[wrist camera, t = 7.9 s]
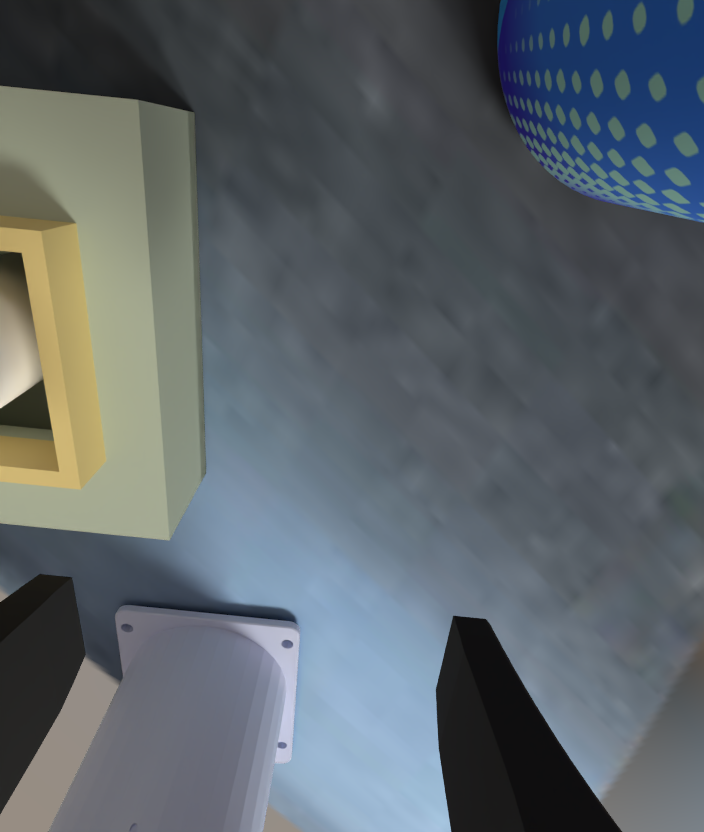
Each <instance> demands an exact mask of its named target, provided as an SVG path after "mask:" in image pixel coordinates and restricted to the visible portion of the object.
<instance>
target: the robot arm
mask: <svg viewBox="0 0 704 832" xmlns="http://www.w3.org/2000/svg"><path fill="white" fill-rule="evenodd" d="M115 622H116V629H117V637H118V644H119V651H120V658H121V665H122V673H123V679H122V681H121V683H120V685H119V687H118V689H117V691H116V694H115V695H114V697H113V699H112V702H111V703H110V705H109V708H108V710H107V712H106V714H105V716H104V718H103V720H102V722H101V724H100V726H99V728H98V730H97V732H96V734H95V736H94V738H93V740H92V742H91V745H90V747H89V749H88V751H87V753H86V755H85V757H84V759H83V761H82V763H81V765H80V767H79V769H78V771H77V773H76V776H75V777H74V780H73V782H72V784H71V786H70V788H69V790H68V792H67V794H66V796H65V798H64V800H63V802H62V804H61V806H60V808H59V811H58V812H57V814H56V817H55V818H54V821H53V823H52V825H51V827H50V829H49V831H48V832H263V828H264V822H265V816H266V810H267V805H268V799H269V793H270V787H271V781H272V775H273V769H274V763H287V762H289V761H290V760H291V756H292V746H293V731H294V716H295V701H296V687H297V672H298V657H299V643H300V627H299V626H298V625H297V624H296V623H294V622H291V621H282V620H272V619H262V618H253V617H243V616H233V615H223V614H213V613H203V612H193V611H183V610H173V609H163V608H153V607H143V606H133V605H123V606H121V607H120V608H119V609H118V611H117V612H116V614H115ZM128 624H129V625H128ZM286 640H290V641H286ZM85 655H86V654H85V648H84V642H83V637H82V631H81V625H80V620H79V614H78V609H77V603H76V597H75V592H74V586H73V581H72V577H63V576H53V575H43V574H39V575H38V576H37V577H35V578H34V579H32V580H31V581H29V582H28V583H26V584H25V585H24V586H22V587H21V588H19V589H18V590H17V591H15V592H14V593H12V594H11V595H10V596H8V597H7V598H5V599H4V600H3V601H1V602H0V814H1V812H2V810H3V809H4V807H5V805H6V804H7V802H8V800H9V798H10V797H11V795H12V793H13V792H14V790H15V788H16V787H17V785H18V783H19V781H20V780H21V778H22V776H23V774H24V773H25V771H26V769H27V768H28V766H29V764H30V763H31V761H32V759H33V758H34V756H35V754H36V752H37V751H38V749H39V747H40V746H41V744H42V742H43V740H44V739H45V737H46V735H47V733H48V732H49V730H50V728H51V727H52V725H53V723H54V721H55V719H56V718H57V716H58V714H59V713H60V711H61V709H62V707H63V704H64V702H65V700H66V698H67V696H68V694H69V691H70V689H71V687H72V685H73V683H74V680H75V678H76V676H77V673H78V671H79V669H80V666H81V664H82V662H83V659H84V657H85ZM436 701H437V724H438V741H439V752H440V759H441V766H442V773H443V779H444V786H445V793H446V799H447V806H448V812H449V819H450V826H451V832H622V831H621V830H620V828H619V827H618V826H617V824H616V823H615V822H614V820H613V819H612V818H611V816H610V815H609V814H608V812H607V811H606V809H605V808H604V807H603V805H602V804H601V802H600V801H599V800H598V798H597V797H596V796H595V794H594V793H593V791H592V790H591V788H590V787H589V786H588V784H587V783H586V781H585V780H584V778H583V777H582V775H581V774H580V773H579V771H578V770H577V768H576V767H575V765H574V764H573V762H572V761H571V759H570V758H569V756H568V755H567V753H566V752H565V750H564V749H563V747H562V746H561V744H560V743H559V741H558V740H557V738H556V737H555V735H554V733H553V732H552V730H551V729H550V727H549V725H548V724H547V722H546V721H545V719H544V718H543V716H542V714H541V713H540V711H539V710H538V708H537V706H536V705H535V703H534V701H533V700H532V698H531V696H530V695H529V693H528V691H527V690H526V688H525V686H524V685H523V683H522V681H521V679H520V678H519V676H518V674H517V673H516V671H515V669H514V667H513V666H512V664H511V662H510V660H509V658H508V657H507V655H506V653H505V651H504V649H503V648H502V646H501V644H500V642H499V640H498V638H497V636H496V635H495V633H494V631H493V629H492V627H491V625H490V624H489V622H488V621H487V620H486V619H480V618H470V617H460V616H453V620H452V624H451V628H450V632H449V636H448V641H447V645H446V649H445V653H444V658H443V662H442V666H441V670H440V675H439V679H438V683H437V687H436Z"/></svg>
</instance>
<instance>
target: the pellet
mask: <svg viewBox="0 0 704 832" xmlns="http://www.w3.org/2000/svg"><path fill="white" fill-rule="evenodd" d="M41 380H43V373H42V367H41V362H40V356H39V350H38V344H37V338H36V332H35V327H34V321H33V315H32V309H31V303H30V298H29V292H28V286H27V280H26V274H25V268H24V263H23V257H22V253H18V252H10V253H7V254H3V255H0V408H2V407H3V406H5V405H6V404H8V403H9V402H10V401H12V400H13V399H15V398H16V397H18V396H19V395H21V394H22V393H24V392H25V391H27V390H28V389H30V388H31V387H33V386H34V385H36V384H37V383H38V382H40V381H41Z"/></svg>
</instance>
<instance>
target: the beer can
mask: <svg viewBox="0 0 704 832" xmlns="http://www.w3.org/2000/svg"><path fill="white" fill-rule="evenodd" d="M497 49H498V65H499V72H500V79H501V85H502V89H503V93H504V97H505V101H506V104H507V107H508V110H509V113H510V116H511V118H512V121H513V123H514V125H515V127H516V129H517V131H518V133H519V135H520V137H521V138H522V140H523V142H524V143H525V145H526V147H527V148H528V149H529V151H530V152H531V153H532V155H533V156H534V157H535V158H536V160H537V161H538V162H539V163H540V164H541V165H542V166H543V167H544V168H545V169H546V170H547V171H548V172H549V173H550V174H551V175H553V176H554V177H555V178H556V179H558V180H559V181H560V182H562V183H563V184H565V185H566V186H568V187H570V188H571V189H573V190H575V191H577V192H579V193H581V194H583V195H586V196H588V197H591V198H594V199H597V200H600V201H605V202H609V203H613V204H618V205H623V206H627V207H632V208H637V209H642V210H647V211H651V212H656V213H661V214H666V215H670V216H675V217H680V218H685V219H689V220H694V221H699V222H704V0H501V2H500V9H499V19H498V40H497Z"/></svg>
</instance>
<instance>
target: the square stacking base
mask: <svg viewBox="0 0 704 832" xmlns="http://www.w3.org/2000/svg"><path fill="white" fill-rule="evenodd" d="M10 252H18V253H22V257H23V263H24V268H25V274H26V280H27V286H28V292H29V298H30V303H31V309H32V315H33V321H34V327H35V332H36V338H37V344H38V350H39V356H40V362H41V367H42V373H43V380H41V381H40V382H38V383H37V384H36V385H34V386H33V387H31V388H30V389H28V390H27V391H25V392H24V393H22V394H21V395H19V396H18V397H16V398H15V399H13V400H12V401H10V402H9V403H8V404H6V405H5V406H3V407H2V408H0V523H2V524H12V525H22V526H32V527H42V528H52V529H62V530H72V531H82V532H91V533H101V534H111V535H121V536H131V537H141V538H151V539H161V540H170V539H171V537H172V535H173V533H174V531H175V529H176V528H177V526H178V524H179V522H180V520H181V518H182V516H183V515H184V513H185V511H186V509H187V507H188V505H189V503H190V502H191V500H192V498H193V496H194V494H195V492H196V490H197V489H198V487H199V485H200V483H201V481H202V479H203V478H204V476H205V474H206V455H205V424H204V393H203V362H202V330H201V299H200V268H199V237H198V206H197V175H196V144H195V113H194V112H189V111H185V110H181V109H176V108H172V107H167V106H163V105H159V104H154V103H150V102H145V101H141V100H135V99H125V98H115V97H105V96H95V95H85V94H75V93H66V92H56V91H46V90H36V89H26V88H16V87H7V86H0V255H3V254H7V253H10Z"/></svg>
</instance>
